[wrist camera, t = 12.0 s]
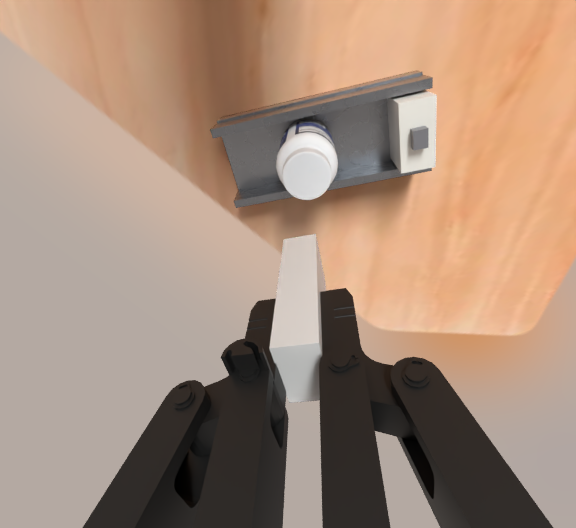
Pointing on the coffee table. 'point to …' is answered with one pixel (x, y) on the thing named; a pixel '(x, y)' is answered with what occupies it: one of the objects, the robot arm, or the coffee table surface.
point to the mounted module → (412, 130)
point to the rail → (340, 122)
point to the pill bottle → (307, 159)
